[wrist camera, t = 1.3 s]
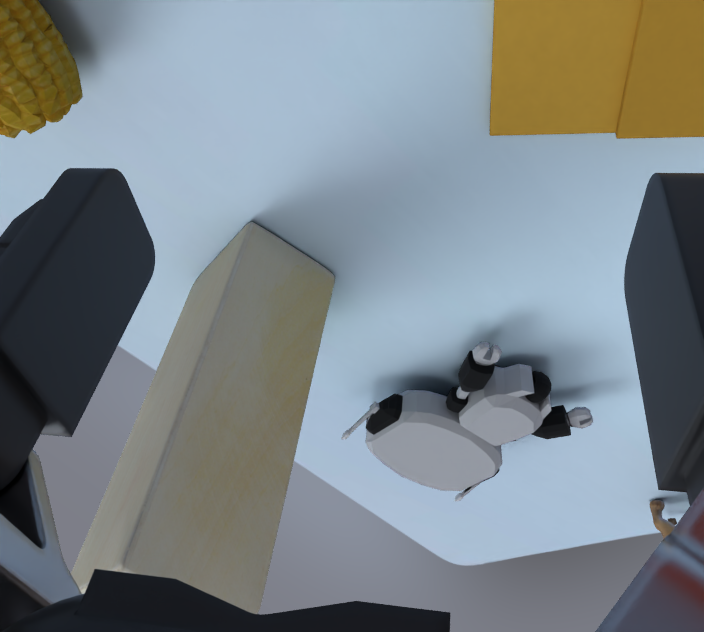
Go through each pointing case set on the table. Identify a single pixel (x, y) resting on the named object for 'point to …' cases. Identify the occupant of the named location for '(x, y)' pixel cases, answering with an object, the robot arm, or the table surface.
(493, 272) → the table surface
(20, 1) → the food
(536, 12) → the cloth
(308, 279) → the toy refrigerator
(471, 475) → the robot toy
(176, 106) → the table surface
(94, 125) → the table surface
